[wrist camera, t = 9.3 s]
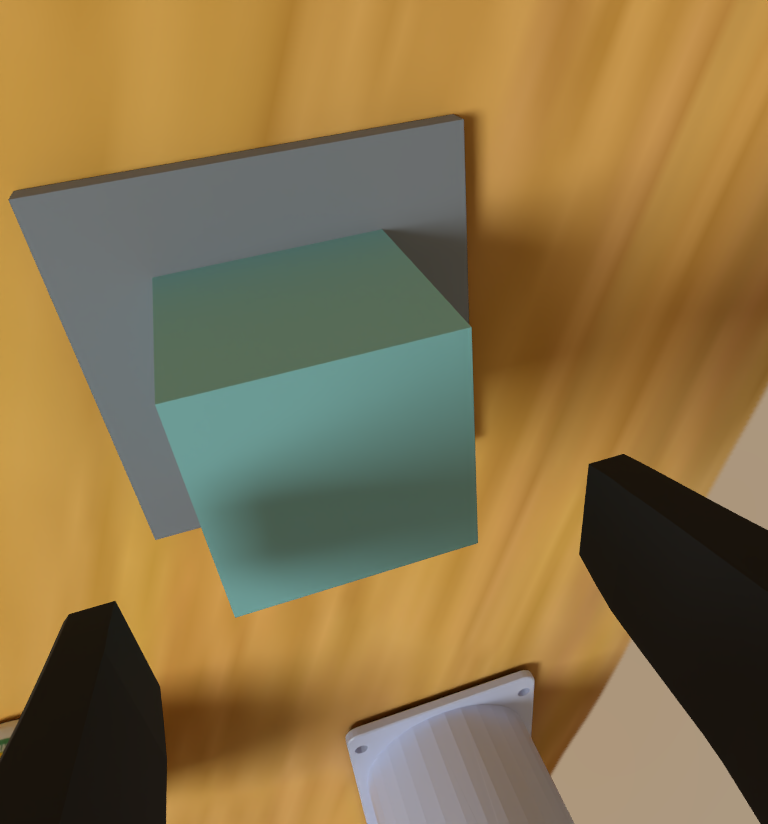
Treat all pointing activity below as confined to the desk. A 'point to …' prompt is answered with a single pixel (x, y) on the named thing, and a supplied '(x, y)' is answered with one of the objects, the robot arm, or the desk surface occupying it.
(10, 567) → the desk surface
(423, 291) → the teal cube
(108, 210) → the slate mat
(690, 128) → the desk surface
